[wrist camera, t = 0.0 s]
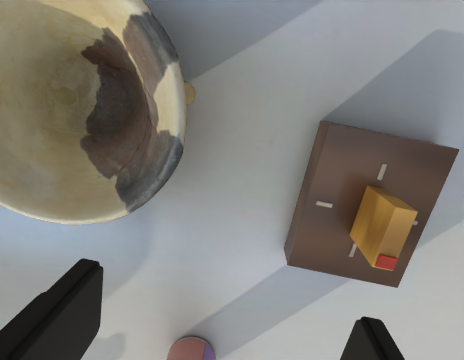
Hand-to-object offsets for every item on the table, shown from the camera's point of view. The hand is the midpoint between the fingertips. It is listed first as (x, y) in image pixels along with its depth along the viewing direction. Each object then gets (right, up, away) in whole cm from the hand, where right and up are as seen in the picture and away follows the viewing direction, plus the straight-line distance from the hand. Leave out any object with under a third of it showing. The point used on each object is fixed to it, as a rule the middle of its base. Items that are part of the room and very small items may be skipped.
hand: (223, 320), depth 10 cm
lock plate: (+13, +3, +18) cm, 22 cm away
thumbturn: (+12, +2, +15) cm, 19 cm away
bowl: (-11, +13, +17) cm, 24 cm away
